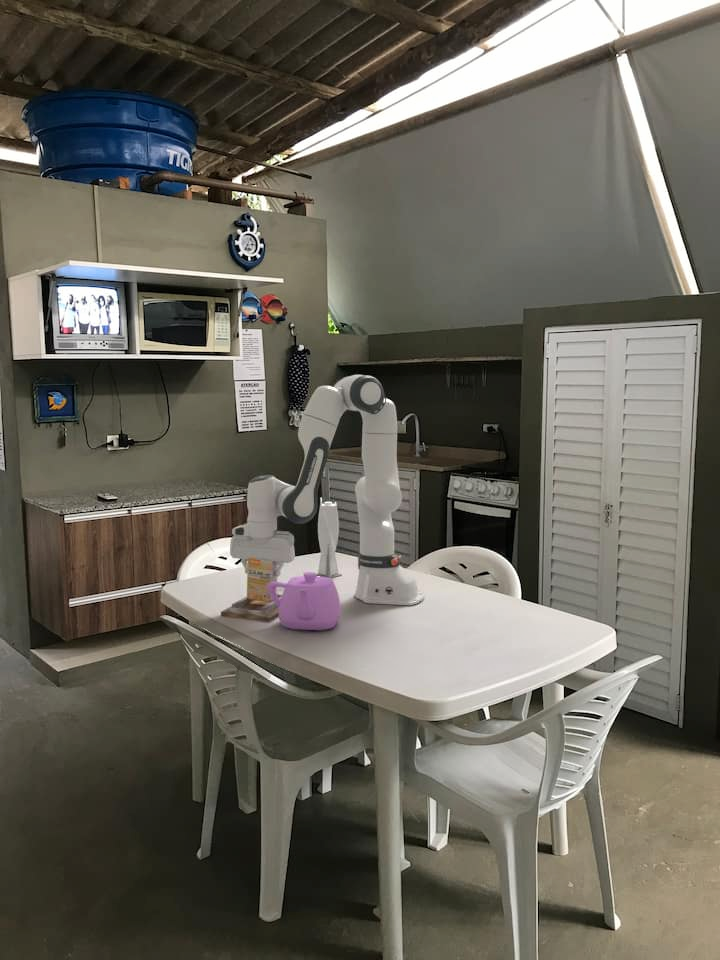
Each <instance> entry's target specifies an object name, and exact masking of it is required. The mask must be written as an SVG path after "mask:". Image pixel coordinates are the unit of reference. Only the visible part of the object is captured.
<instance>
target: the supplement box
mask: <svg viewBox="0 0 720 960" xmlns="http://www.w3.org/2000/svg"><path fill="white" fill-rule="evenodd" d="M247 563H248V570H247V573H246V574H247V576H246V577H247V578H246V596H247V599H251V600H258V601H265V602H272V601H273V599H272V598H271V596H270V595H269V593H268V590H267V584H268V583H269V582H278V576H274V570H276V569H277V568H278V566H279V565H277V562H273V561H271V560H265V559H258V558H251V557H248V561H247ZM275 591H276V594H277V593H278V587H276V588H275Z"/></svg>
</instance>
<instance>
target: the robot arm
mask: <svg viewBox="0 0 720 960" xmlns="http://www.w3.org/2000/svg"><path fill="white" fill-rule="evenodd" d="M346 411H353V412H359V413H360V415H361V418H362V430H361V431H362V433H361V434H362V435H361V459H362V464H363V471H364V476H362V477H360V478H359V479H358V480H357V481H356V483H355V487H354V489H355V490H354V494H355V496H356V497H355V499H356V507H357V514H358V523H359V552H358V556H357V566H358V577H357V585H356V589H355V592H354V597H355V598H357V599H358V600H360V601H362V602H363V603H365V604H375V605H377V604H378V605H397V606H414V604H415V605H418V604H419V602H420V601H421V602H423V601H424V599H425V593H424V592H422V591H418V584H417V583H418V582H417V580H416V578H415V576H414V575H413V574H411V573H410V572H408V571H407V569H405V568H404V567H403V566H402V565H401V557H402V555H398V554H397V553H395V527H394V522H393V519H392V513H394V512H396V510H398V509H399V508H400V506H401V505H402V501H403V494H402V491H401V487H400V477H399V469H398V458H397V457H398V456H397V454H398V453H397V450H398V447H397V445H398V417H397V416H398V415H397V409H396V405H395V403H394V402H393V401H392V400H390V399H388V398H387V397H386V394H385V390H384V388H383V385H382V383H381V382H380V381H379V379H377V378H376V377H374V376H372V375H366V374H365V375H364V374H353V375H347V376H343V377H341V378H339V379H338V380H336V381H335V382H334V383H333V384H332V385H321V386H318V387H317V388H316V389H315V390H314V392H313V394H312V395H311V397H310V399H309V401H308V403H307V404H306V406H305V409H304V411H303V413H302V414H303V415H302V417H301V419H300V423H299V427H298V431H297V436H298V437H297V438H298V440H299V442H300V444H301V446H302V448H303V449H302V450H303V451H304V460H303V463H302V467H301V470H300V472H299V477H298V480H297V482H296V485H294V484H293V485H292V484H289V483H286V482H284V481H282V480H280V479H278V478H276V477H275V476H274V475H270V474H266V475H265V474H263V475H258V476H255V477H253V478H251V480H250V481H249V482H248V486H247V493H246V495H247V498H246V507H247V511H248V515H247V519H246V522H247V523H244V524H240V525H238V526H236V527H233V528H232V531H231V534H232V535H233V536H232V537H231V538H230V544H229V545H230V546H229V553H230V556H231V558H232V559H239V560H240V559H241V561H240V562H241V564H242V566H243V568H244V573H245V574H247V570H248V557H251V558H258V559H265V560H271V561H273V562H277V565H278V568H277V569H276V570H274V576H277V578H278V577H281V574H282V573H281V570H282V568H283V567H284V566H285V563H286V564H289V563H292V562H293V561H294V560H295V559H296V554H295V551H296V550H295V536H294V535H293V533H291V532H290V531H284V530H278V517H280V516H283V517H285V518H286V519H287V520H288V521H290V522H291V523H293V524H296V525H303V524H307V523H308V522H310V521H311V520H312V519H313V518H314V517H315V516H316V514H317V511H318V503H319V502H318V493H319V488H320V484H321V481H322V478H323V474H324V471H325V468H326V464H327V459H328V455H329V454H330V453H329V451H330V448H331V445H332V442H333V439H334V437H335V435H336V431H337V428H338V425H339V422H340V419H341V417H342V416H343V414H344V413H345V412H346ZM421 602H420V603H421ZM417 603H418V604H417Z"/></svg>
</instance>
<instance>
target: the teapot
mask: <svg viewBox="0 0 720 960" xmlns="http://www.w3.org/2000/svg"><path fill="white" fill-rule="evenodd" d="M317 574H318V573H316V572H314V571H308V572H307V571H306V572H303V576H293V577H290V579H289V580H288V581H287V582H286V583H285V582H281V581H277V582H269V583H268V584H267V590H268V593H269V595H270V596H271V598H272V599H273V601H274V602H275V603H276V604H277V606H278V607H279V616H278V619H279V622H280V624H281V625H282V626H283V627H284V628H286V629H291V630H294V631H297V630H298V631H299V630H303V631H304V630H305V631H308V630H309V631H310V630H311V631H312V630H314V631H317V632H319V631H320V632H322V631H325V630H329V629H333V628H334V627H335V626H336V625H337V622H338V621H339V619H340V617H341V614H342V613H341V612H342V611H341V609H342V607H341V601H340V596H339V593H338V589H337V587H336V584H335V582H334V580H333V578H327V577H317V576H316V575H317ZM276 587H277V588H278V587H279V588H284V590H283V592H282V593H281V594H282V597H281V601H280V600H279V598H278V596H277V594H276V591H275V588H276Z"/></svg>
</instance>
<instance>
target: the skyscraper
mask: <svg viewBox="0 0 720 960" xmlns="http://www.w3.org/2000/svg"><path fill="white" fill-rule="evenodd" d="M319 499H320V503H319V510H318V519H317V520H318V521H317V535H318V536H317V537H318V542H319V545H318V546H319V549H320V557H319V564H318V570H317V573H316V574H317V575H316V577H317V576H320V577H327V578H331V579H335V578H338V576H339V577H342V576H343V575H342V574H341V573H339V568H338V562H337V561H338V560H337V557H336V556H337V555H336V549H337V546H338V545H337V544H338V541H339V540H338V539H339V532H340V521H339V513H338V504H337V502H336V501H334V503H333V502H332V501H324V503H323V498H322V497H320V498H319ZM334 577H335V578H334Z"/></svg>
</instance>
